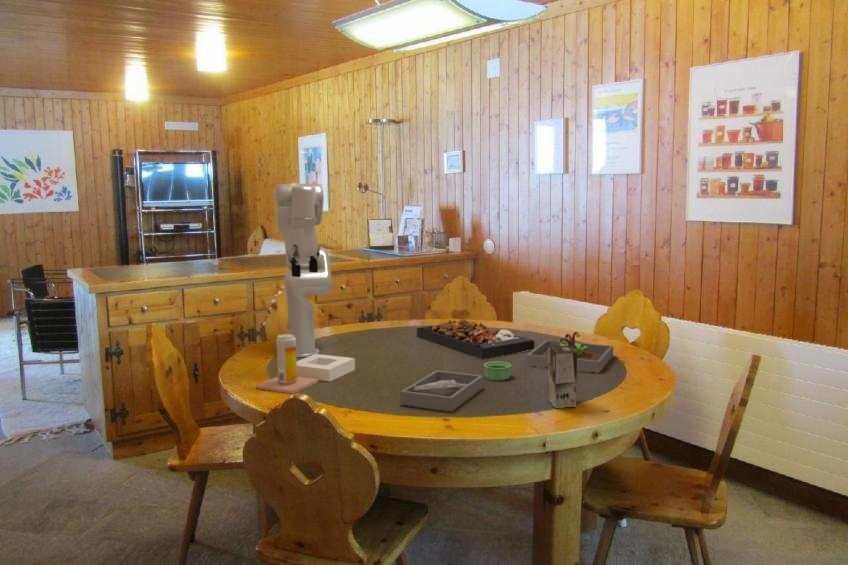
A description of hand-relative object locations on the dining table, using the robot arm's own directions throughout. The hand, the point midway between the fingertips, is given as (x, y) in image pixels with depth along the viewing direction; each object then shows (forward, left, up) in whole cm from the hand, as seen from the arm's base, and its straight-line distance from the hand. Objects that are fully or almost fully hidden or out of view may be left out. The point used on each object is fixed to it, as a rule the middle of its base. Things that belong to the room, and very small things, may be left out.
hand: (305, 274), depth 237 cm
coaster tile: (+4, -18, -33) cm, 38 cm away
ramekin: (+62, +17, -34) cm, 73 cm away
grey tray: (+54, -9, -33) cm, 64 cm away
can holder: (+6, -1, -33) cm, 34 cm away
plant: (+80, +48, -34) cm, 99 cm away
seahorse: (+54, -9, -33) cm, 64 cm away
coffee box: (+88, -2, -34) cm, 94 cm away
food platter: (+37, +60, -34) cm, 79 cm away
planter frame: (+79, +47, -33) cm, 98 cm away
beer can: (+4, -17, -32) cm, 37 cm away
